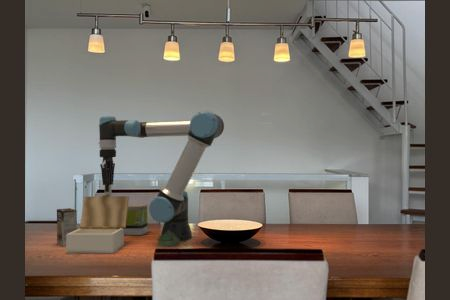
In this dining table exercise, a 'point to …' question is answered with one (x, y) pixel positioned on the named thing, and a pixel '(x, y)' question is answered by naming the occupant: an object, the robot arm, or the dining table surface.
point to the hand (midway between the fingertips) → (108, 198)
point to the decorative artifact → (168, 239)
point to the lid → (104, 212)
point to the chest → (94, 241)
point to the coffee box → (65, 224)
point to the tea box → (136, 220)
